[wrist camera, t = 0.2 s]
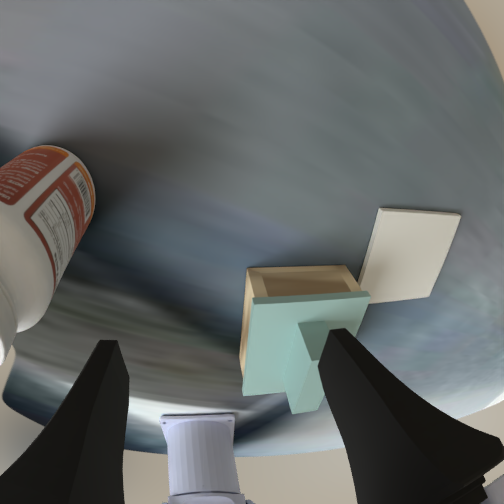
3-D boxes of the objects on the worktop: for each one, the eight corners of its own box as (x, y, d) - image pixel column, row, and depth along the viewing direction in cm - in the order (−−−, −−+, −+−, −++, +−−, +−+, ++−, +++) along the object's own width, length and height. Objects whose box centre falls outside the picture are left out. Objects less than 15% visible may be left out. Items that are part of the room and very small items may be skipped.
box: (318, 349, 27) (330, 377, 24) (239, 356, 25) (244, 388, 23) (345, 264, 22) (363, 293, 19) (247, 267, 21) (255, 300, 18)
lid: (331, 378, 24) (345, 414, 21) (242, 389, 23) (249, 429, 20) (367, 290, 19) (392, 329, 16) (252, 297, 18) (264, 345, 15)
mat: (425, 293, 26) (428, 296, 25) (351, 301, 24) (353, 305, 24) (457, 213, 21) (461, 216, 21) (379, 207, 20) (382, 211, 19)
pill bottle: (-2, 201, 15) (-102, 319, 6) (39, 121, 13) (-102, 207, 4) (68, 255, 18) (6, 402, 9) (118, 184, 16) (46, 331, 7)
